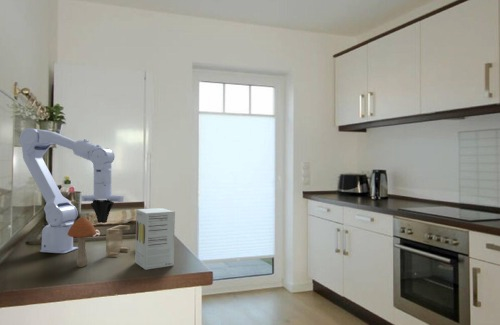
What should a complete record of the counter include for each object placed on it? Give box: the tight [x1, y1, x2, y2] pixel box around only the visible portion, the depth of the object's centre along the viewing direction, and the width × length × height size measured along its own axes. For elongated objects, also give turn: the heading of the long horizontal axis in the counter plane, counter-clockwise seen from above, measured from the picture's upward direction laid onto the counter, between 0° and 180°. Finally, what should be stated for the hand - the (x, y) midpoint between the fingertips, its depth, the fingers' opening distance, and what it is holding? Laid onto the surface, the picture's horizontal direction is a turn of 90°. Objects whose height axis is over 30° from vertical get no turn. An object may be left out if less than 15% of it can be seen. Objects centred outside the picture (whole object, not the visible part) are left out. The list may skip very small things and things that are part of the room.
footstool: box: [105, 224, 131, 258], centre depth 130 cm, size 4×9×9 cm, turn 171°
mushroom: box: [68, 216, 97, 268], centre depth 113 cm, size 8×8×15 cm
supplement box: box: [134, 207, 176, 271], centre depth 117 cm, size 10×9×17 cm
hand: (102, 222), depth 130 cm, fingers closed
